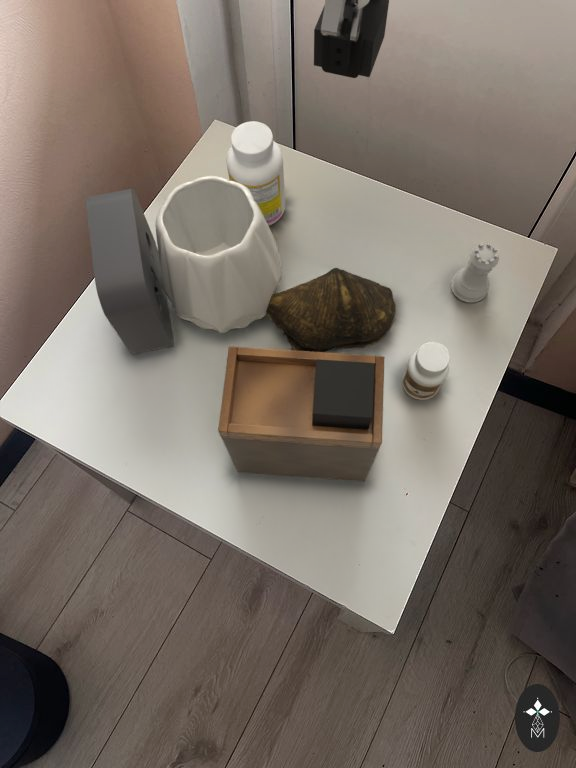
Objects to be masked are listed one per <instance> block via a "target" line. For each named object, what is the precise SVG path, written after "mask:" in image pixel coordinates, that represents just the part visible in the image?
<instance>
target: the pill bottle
mask: <svg viewBox="0 0 576 768" xmlns="http://www.w3.org/2000/svg"><path fill="white" fill-rule="evenodd" d="M450 362H451V354H450V352H449V350H448V348H447V347H446V346H445V345H443V344H442V343H440V342H436V341H429V342H425V343H423V344H422V345H421V346H420V347H419V348H418V349H417V350H416V351H414V353H413V354H411V356H410V357H409V359H408V361H407V364H406V367H405V369H404V371H403V375H402V377H401V384H402V387H403V390H404V391H405V393H406V394H407V395H408V396H409V397H411V398H413V399H416V400H420V401H425V400H429V399H431V398H433V397H435V396H436V395H437V394H438V392H439V391H440V389H441V387H442V386H443V384H444V382H445V381H446V380H447V378H448V375H449V373H450Z"/></svg>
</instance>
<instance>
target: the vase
mask: <svg viewBox="0 0 576 768" xmlns="http://www.w3.org/2000/svg"><path fill="white" fill-rule="evenodd" d="M154 226H155V236H156V245H157V249H158V253H159V260H160V267H161V282H162V287H163V290H164V291H165V293H166V295H167V299H168V300H169V302H170V303H171V306H172V307H173V309H174V311H175V312H176V314H177V316H178V317H179V318H180V319H181V320H184V321H188V322H191V323H193V324H195V325H196V326H197V327H199V328H201V329H204V330H215V331H217V332H218V333H220V334H221V333H222V334H224V333H228V332H230V331H231V330H232V329H245V328H247V327H248V326H249V325H250V324H251V323H252V322H254V321H257V320H260V319H263V318H264V317H265V316H267V313H266V311H267V308H268V304H269V301H270V299H271V296H272V295H273V294H275V293H278V292H277V291H278V288H279V285H280V283H281V281H282V278H283V269H282V265H281V259H280V254H279V248H278V244H277V242H276V239H275V236H274V235H273V232H272V231H271V228H270V225H269V226H268V224H267V222H266V220H265V218H264V216H263V214H262V212H261V210H260V208H259V206H258V204H257V203H256V202H255V201H254V198H253V196H252V194H251V192H250V190H249V189H248V188H247V187H246V186H244V185H242V184H240V183H238V182H234V181H230V179H227V178H224V177H221V176H219V175H203V176H201V177H200V176H199V177H196V178H195V179H193V180H191V181H185V182H183V183H181V184H179V185H177V186H176V187H174V188H173V189H172V190H171V191H170V192H169V194H168V195H167V196H166V198H165V201H164V202H163V203H162V206H161V207H160V208H159V211H158V213H157V216H156V219H155V225H154Z"/></svg>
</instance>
